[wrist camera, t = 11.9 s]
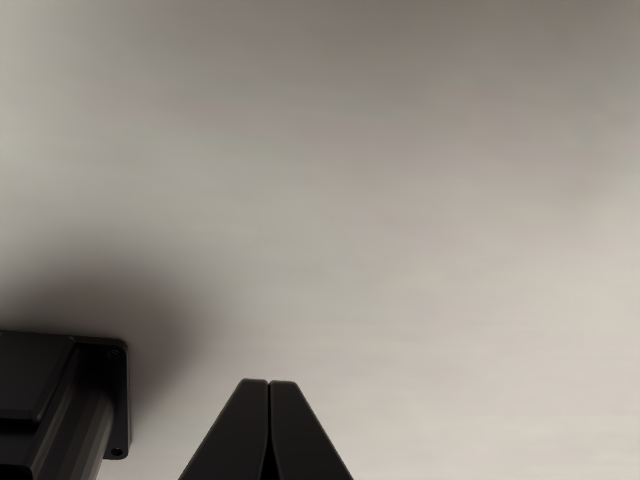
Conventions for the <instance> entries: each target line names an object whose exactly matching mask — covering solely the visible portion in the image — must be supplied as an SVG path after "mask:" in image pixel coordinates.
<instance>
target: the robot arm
mask: <svg viewBox="0 0 640 480" xmlns="http://www.w3.org/2000/svg"><path fill="white" fill-rule="evenodd" d="M110 350H115V351H118V352H119V353H117V354H116V353H113V352H111V351H110ZM117 448H119V449H117ZM129 448H130V385H129V348H128V345H127V344H126V343H125V342H124V341H122V340H119V339H112V338H99V337H85V336H71V335H57V334H44V333H30V332H16V331H2V330H0V480H96V477H97V474H98V471H99V468H100V465H101V462H102V459H109V460H121V459H124V458H126V457H127V456H128V452H129ZM178 480H354V479H353V478H352V476H351V474H350V472H349V471H348V469H347V467H346V466H345V464H344V462H343V461H342V459H341V457H340V456H339V454H338V452H337V451H336V449H335V447H334V446H333V444H332V442H331V441H330V439H329V437H328V435H327V434H326V432H325V430H324V429H323V427H322V425H321V424H320V422H319V420H318V419H317V417H316V415H315V414H314V412H313V410H312V409H311V407H310V405H309V404H308V402H307V400H306V398H305V397H304V395H303V393H302V392H301V390H300V388H299V387H298V385H297V384H296V383H295V382H292V381H279V380H272V381H270V383H269V385H268V382H267V381H266V380H264V379H248V378H245V379H242V380H241V381H240V382H239V384H238V386H237V387H236V389H235V390H234V392H233V393H232V395H231V397H230V398H229V400H228V401H227V403H226V405H225V406H224V408H223V409H222V411H221V412H220V414H219V416H218V417H217V419H216V420H215V422H214V424H213V425H212V427H211V428H210V430H209V431H208V433H207V435H206V436H205V438H204V439H203V441H202V443H201V444H200V446H199V447H198V449H197V451H196V452H195V454H194V455H193V457H192V458H191V460H190V462H189V463H188V465H187V466H186V468H185V470H184V471H183V473H182V474H181V476H180V477H179V479H178Z"/></svg>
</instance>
